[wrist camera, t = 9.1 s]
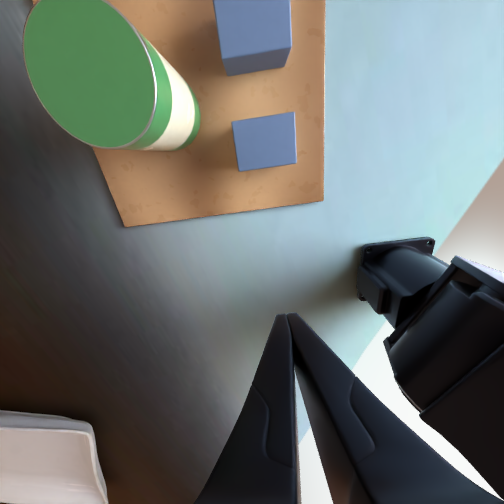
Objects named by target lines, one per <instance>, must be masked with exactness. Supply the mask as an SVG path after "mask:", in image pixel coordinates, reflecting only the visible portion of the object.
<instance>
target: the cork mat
mask: <svg viewBox="0 0 504 504" xmlns="http://www.w3.org/2000/svg"><path fill="white" fill-rule="evenodd" d="M32 1H33V4H34V5H35V3H36V2H37V1H38V0H32ZM106 1H108V2H109V3H111V4H112V5H113V6H114V7H116V8H117V9H118V10H119V11H120V12H121V13H122V14H123V15H124V16H125V17H126V18H127V19H128V20H129V21H130V22H131V23H132V24H133V25H134V26H135V28H136V29H137V30H138V31H139V32H140V33H141V34H142V35H143V36H144V37H145V38H146V39H147V40H148V41H149V42H150V43H151V44H152V45H153V47H154V48H155V49H156V50H157V51H158V52H159V53H160V54H161V55H162V56H163V57H164V58H165V59H166V61H167V62H168V63H169V64H170V65H171V66H172V67H173V68H174V69H175V70H176V71H177V72H178V73H179V75H180V76H181V77H182V78H183V79H184V80H185V81H186V82H187V83H188V85H189V86H190V87H191V88H192V90H193V92H194V93H195V95H196V97H197V100H198V103H199V107H200V113H201V121H200V128H199V131H198V134H197V136H196V137H195V139H194V140H193V142H192V143H191V144H190V145H188V146H187V147H185V148H184V149H181V150H177V151H144V150H113V149H101V148H97V147H93V146H92V148H93V150H94V152H95V155H96V157H97V160H98V162H99V165H100V167H101V169H102V172H103V174H104V177H105V179H106V182H107V184H108V187H109V189H110V191H111V194H112V196H113V199H114V201H115V204H116V206H117V208H118V211H119V213H120V216H121V218H122V221H123V223H124V226H125V227H131V226H138V225H146V224H153V223H161V222H168V221H176V220H183V219H191V218H199V217H206V216H214V215H221V214H229V213H236V212H244V211H251V210H259V209H266V208H274V207H281V206H289V205H296V204H304V203H311V202H319V201H323V200H324V98H325V0H290V6H291V31H292V48H291V50H290V53H289V56H288V59H287V61H286V64H285V66H284V67H280V68H274V69H269V70H263V71H257V72H251V73H245V74H240V75H234V76H227V74H226V71H225V68H224V65H223V62H222V59H221V53H220V46H219V39H218V33H217V26H216V20H215V13H214V7H213V0H106ZM287 112H295V128H296V153H297V163H296V164H290V165H283V166H276V167H270V168H263V169H256V170H249V171H242V172H239V171H238V164H237V158H236V151H235V145H234V138H233V131H232V125H231V122H232V121H237V120H244V119H250V118H256V117H262V116H269V115H275V114H281V113H287Z"/></svg>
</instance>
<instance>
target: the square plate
mask: <svg viewBox="0 0 504 504" xmlns="http://www.w3.org/2000/svg"><path fill="white" fill-rule="evenodd" d="M0 502H4V503H14V504H108V499H107V492H106V484H105V480H104V477H103V474H102V471H101V468H100V464H99V461H98V456H97V450H96V442H95V436H94V432H93V428H92V426H91V425H90V424H89V423H88V422H85V421H80V420H73V419H71V418H67V417H63V416H57V415H47V414H35V413H24V412H14V411H3V410H0Z"/></svg>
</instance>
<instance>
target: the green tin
mask: <svg viewBox="0 0 504 504" xmlns="http://www.w3.org/2000/svg"><path fill="white" fill-rule="evenodd" d="M23 56H24V62H25V67H26V71H27V74H28V77H29V80H30V82H31V85H32V87H33V90H34V91H35V93H36V95H37V97H38V99H39V101H40V102H41V104H42V105H43V107H44V108H45V110H46V111H47V112H48V114H49V115H50V116H51V117H52V118H53V119H54V121H55V122H56V123H57V124H58V125H59V126H60V127H62V128H63V129H64V130H65V131H66V132H68V133H69V134H70V135H71V136H73V137H75V138H76V139H78V140H79V141H81V142H83V143H86V144H88V145H90V146H93V147H97V148H101V149H113V150H144V151H177V150H181V149H184V148H185V147H187V146H188V145H190V144H191V143H192V142H193V140H194V139H195V137H196V136H197V134H198V131H199V128H200V121H201V113H200V107H199V103H198V100H197V97H196V95H195V93H194V92H193V90H192V88H191V87H190V86H189V85H188V83H187V82H186V81H185V80H184V79H183V78H182V77H181V76H180V75H179V73H178V72H177V71H176V70H175V69H174V68H173V67H172V66H171V65H170V64H169V63H168V62H167V61H166V59H165V58H164V57H163V56H162V55H161V54H160V53H159V52H158V51H157V50H156V49H155V48H154V47H153V45H152V44H151V43H150V42H149V41H148V40H147V39H146V38H145V37H144V36H143V35H142V34H141V33H140V32H139V31H138V30H137V29H136V28H135V26H134V25H133V24H132V23H131V22H130V21H129V20H128V19H127V18H126V17H125V16H124V15H123V14H122V13H121V12H120V11H119V10H118V9H117V8H116V7H114V6H113V5H112V4H111V3H109V2H108V1H106V0H38V1H37V2H36V3H35V5H34V6H33V7H32V9H31V10H30V12H29V14H28V16H27V19H26V23H25V26H24V32H23Z"/></svg>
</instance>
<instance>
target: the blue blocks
mask: <svg viewBox="0 0 504 504" xmlns="http://www.w3.org/2000/svg"><path fill="white" fill-rule="evenodd" d="M213 7H214V13H215V20H216V26H217V33H218V39H219V46H220V53H221V59H222V62H223V65H224V68H225V71H226V74H227V76H234V75H240V74H245V73H251V72H257V71H263V70H269V69H274V68H280V67H284V66H285V64H286V61H287V59H288V56H289V53H290V50H291V48H292V31H291V6H290V0H213ZM231 125H232V131H233V138H234V145H235V151H236V158H237V164H238V171H239V172H242V171H249V170H256V169H263V168H270V167H276V166H283V165H290V164H296V163H297V153H296V128H295V112H287V113H281V114H275V115H269V116H262V117H256V118H250V119H244V120H237V121H232V122H231Z"/></svg>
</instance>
